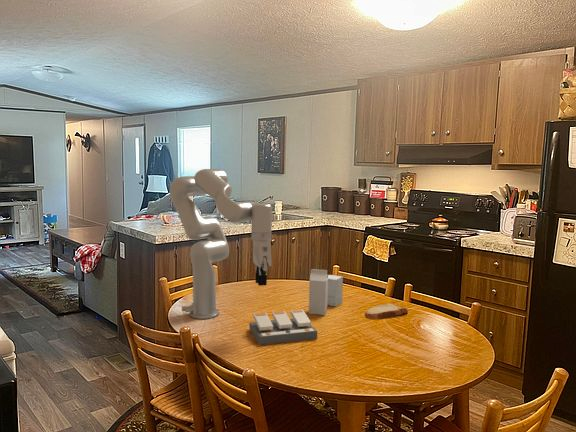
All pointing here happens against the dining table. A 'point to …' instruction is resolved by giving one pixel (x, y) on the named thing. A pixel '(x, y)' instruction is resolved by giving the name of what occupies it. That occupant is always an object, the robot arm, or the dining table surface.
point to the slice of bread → (385, 311)
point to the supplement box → (334, 290)
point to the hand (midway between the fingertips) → (261, 283)
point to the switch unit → (282, 333)
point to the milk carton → (318, 292)
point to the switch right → (300, 317)
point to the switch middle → (282, 319)
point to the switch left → (263, 321)
